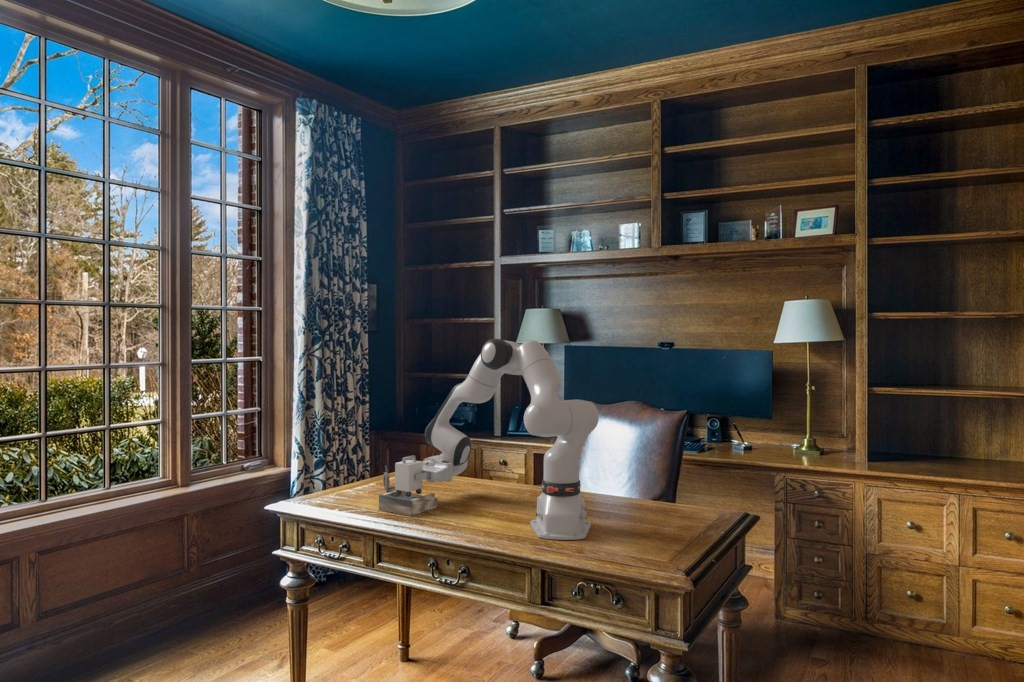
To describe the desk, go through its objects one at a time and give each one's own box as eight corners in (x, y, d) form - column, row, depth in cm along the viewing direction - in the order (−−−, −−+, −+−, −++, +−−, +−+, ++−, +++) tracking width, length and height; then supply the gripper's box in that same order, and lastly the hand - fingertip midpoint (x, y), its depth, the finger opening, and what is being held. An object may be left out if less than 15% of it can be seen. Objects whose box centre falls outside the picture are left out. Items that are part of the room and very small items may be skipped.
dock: (406, 501, 241) (406, 487, 241) (437, 507, 233) (437, 492, 233) (378, 510, 229) (378, 495, 229) (410, 516, 222) (410, 501, 222)
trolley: (408, 491, 236) (408, 453, 236) (422, 493, 233) (423, 455, 232) (394, 495, 230) (394, 456, 230) (408, 498, 227) (409, 459, 226)
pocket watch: (408, 490, 257) (408, 464, 257) (392, 495, 250) (392, 468, 250) (392, 488, 262) (392, 461, 262) (376, 492, 255) (376, 465, 255)
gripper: (410, 457, 248) (384, 463, 236) (455, 463, 237) (430, 470, 225) (410, 474, 248) (384, 481, 236) (455, 481, 237) (430, 489, 225)
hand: (407, 475), depth 230 cm, fingers closed on trolley, 6 cm apart
